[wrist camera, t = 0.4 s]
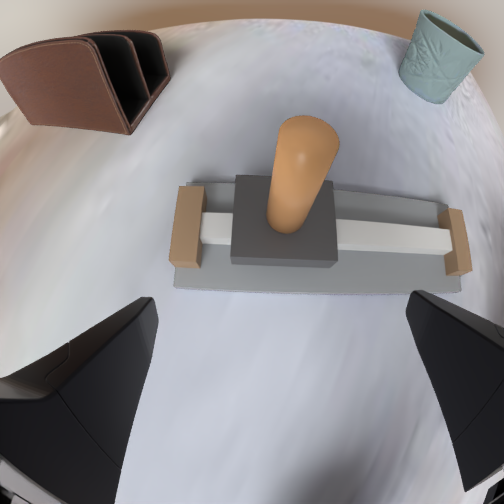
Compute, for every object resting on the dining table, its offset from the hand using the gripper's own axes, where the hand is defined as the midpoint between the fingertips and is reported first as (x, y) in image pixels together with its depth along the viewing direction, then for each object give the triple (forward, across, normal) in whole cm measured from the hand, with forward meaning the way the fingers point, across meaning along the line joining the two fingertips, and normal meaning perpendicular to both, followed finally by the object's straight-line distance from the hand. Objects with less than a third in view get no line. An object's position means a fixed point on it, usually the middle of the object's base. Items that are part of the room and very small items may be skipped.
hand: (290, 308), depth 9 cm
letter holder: (+27, +22, -12) cm, 37 cm away
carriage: (+12, -1, +1) cm, 12 cm away
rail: (+14, -6, +4) cm, 16 cm away
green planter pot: (+31, -25, -16) cm, 43 cm away
